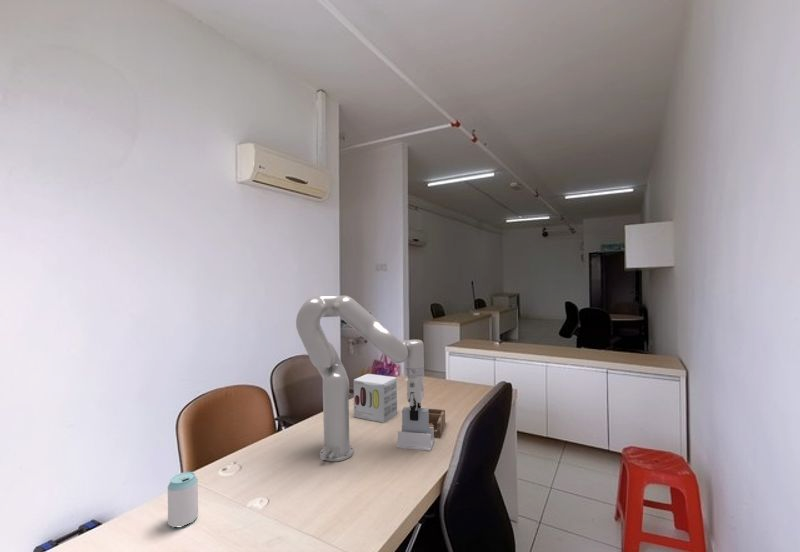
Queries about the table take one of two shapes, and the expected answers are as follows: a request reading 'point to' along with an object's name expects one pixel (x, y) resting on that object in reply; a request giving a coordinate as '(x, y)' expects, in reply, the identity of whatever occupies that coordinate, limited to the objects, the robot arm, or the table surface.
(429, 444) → the stand
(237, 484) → the table surface
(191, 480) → the can
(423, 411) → the sheet
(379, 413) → the supplement box
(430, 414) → the box
